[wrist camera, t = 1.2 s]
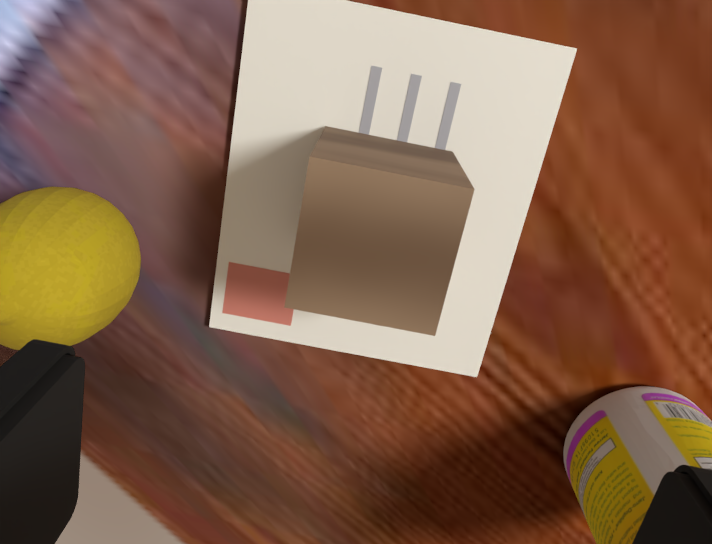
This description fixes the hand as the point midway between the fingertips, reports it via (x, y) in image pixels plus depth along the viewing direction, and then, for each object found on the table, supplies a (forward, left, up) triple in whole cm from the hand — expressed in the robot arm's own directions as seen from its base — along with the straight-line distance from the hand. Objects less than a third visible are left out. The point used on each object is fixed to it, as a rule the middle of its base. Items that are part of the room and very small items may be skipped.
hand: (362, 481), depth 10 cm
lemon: (+3, -11, -17) cm, 20 cm away
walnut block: (0, 0, -16) cm, 16 cm away
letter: (0, 0, -17) cm, 17 cm away
